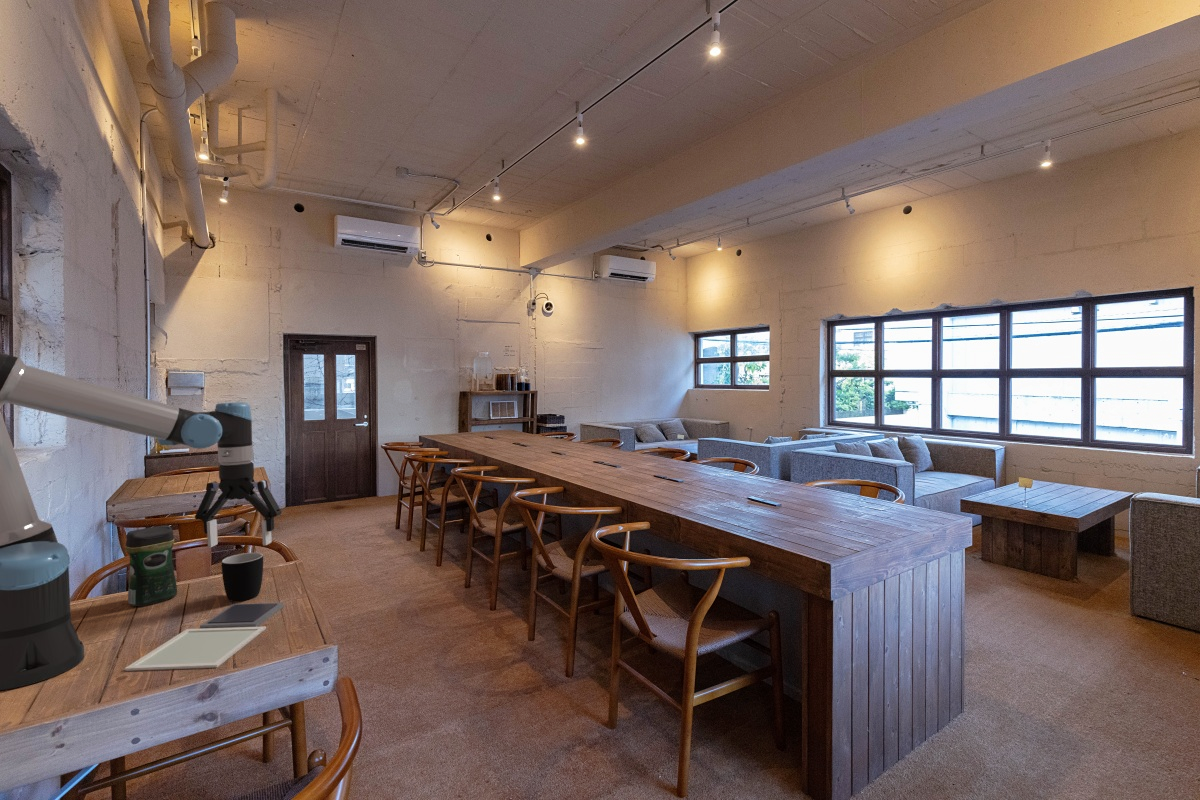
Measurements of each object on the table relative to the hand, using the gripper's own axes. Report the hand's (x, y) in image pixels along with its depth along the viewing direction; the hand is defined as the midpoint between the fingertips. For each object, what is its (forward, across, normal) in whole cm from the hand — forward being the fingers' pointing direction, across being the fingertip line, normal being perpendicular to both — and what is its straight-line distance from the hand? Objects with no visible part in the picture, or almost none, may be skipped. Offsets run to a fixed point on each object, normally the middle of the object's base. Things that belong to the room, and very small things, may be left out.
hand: (240, 544), depth 143 cm
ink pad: (+13, +9, -14) cm, 21 cm away
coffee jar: (+13, -21, -1) cm, 25 cm away
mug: (+13, 0, 0) cm, 13 cm away
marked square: (+13, +9, -29) cm, 33 cm away
